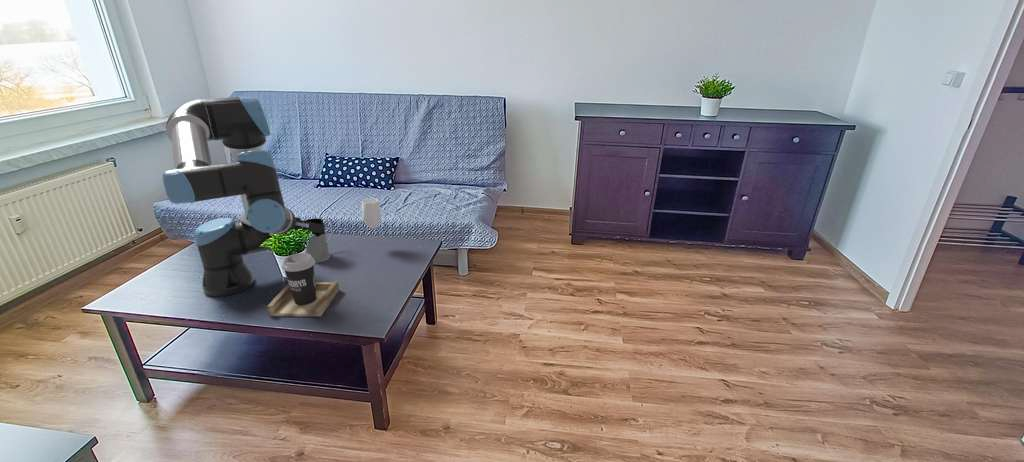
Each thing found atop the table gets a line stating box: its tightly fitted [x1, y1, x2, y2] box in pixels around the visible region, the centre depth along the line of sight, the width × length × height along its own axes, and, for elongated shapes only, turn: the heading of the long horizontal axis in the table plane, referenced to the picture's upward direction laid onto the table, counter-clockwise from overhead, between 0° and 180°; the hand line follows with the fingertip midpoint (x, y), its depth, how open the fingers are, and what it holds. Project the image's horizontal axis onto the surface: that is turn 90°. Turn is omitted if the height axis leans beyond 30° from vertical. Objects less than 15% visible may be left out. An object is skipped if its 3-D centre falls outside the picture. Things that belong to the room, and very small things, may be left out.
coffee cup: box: [281, 252, 316, 305], centre depth 147 cm, size 10×10×15 cm
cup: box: [361, 197, 382, 230], centre depth 184 cm, size 7×7×21 cm
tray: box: [266, 280, 340, 318], centre depth 150 cm, size 16×16×4 cm
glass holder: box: [305, 217, 334, 264], centre depth 180 cm, size 9×14×15 cm, turn 158°
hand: (290, 223), depth 139 cm, fingers open, 13 cm apart
